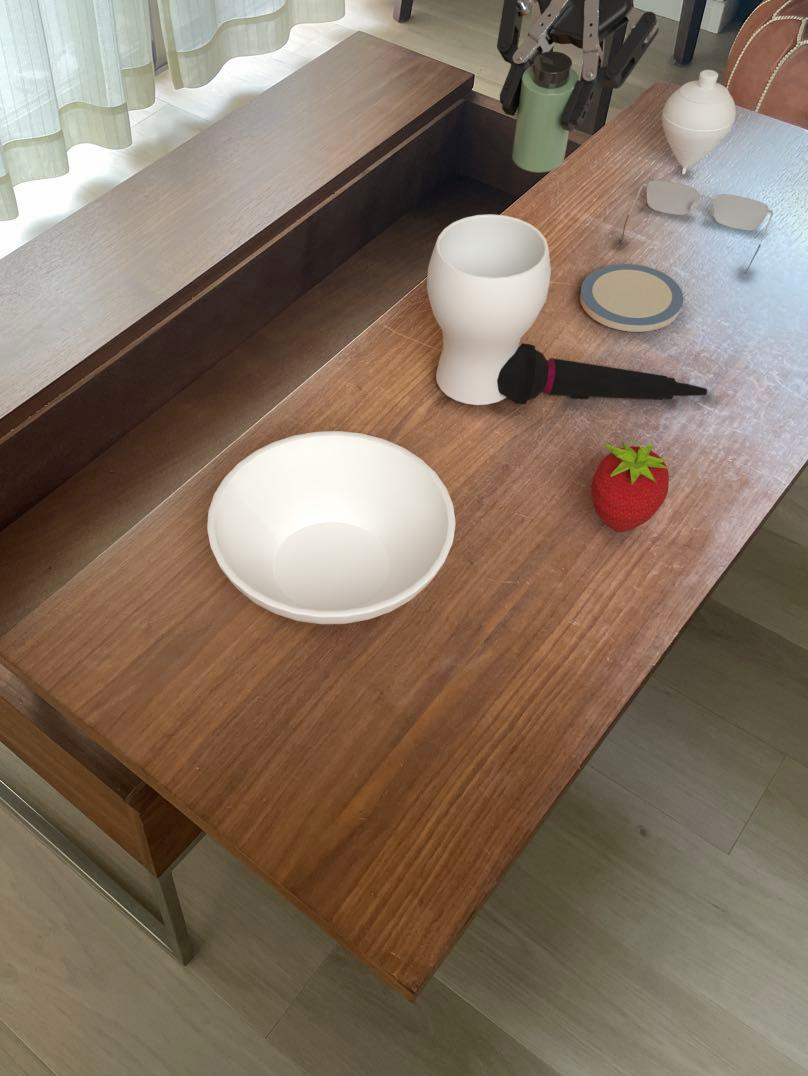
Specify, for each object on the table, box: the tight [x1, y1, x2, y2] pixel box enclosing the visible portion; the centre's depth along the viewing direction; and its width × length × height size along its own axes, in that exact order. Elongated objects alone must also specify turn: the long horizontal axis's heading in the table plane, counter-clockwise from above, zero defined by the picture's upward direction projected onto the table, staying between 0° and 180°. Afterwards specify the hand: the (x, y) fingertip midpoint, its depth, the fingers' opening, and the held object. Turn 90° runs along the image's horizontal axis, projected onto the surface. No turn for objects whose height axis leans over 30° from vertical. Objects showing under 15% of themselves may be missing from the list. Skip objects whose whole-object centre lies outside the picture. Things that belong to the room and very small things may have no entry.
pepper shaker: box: [511, 50, 580, 173], centre depth 97 cm, size 5×5×10 cm
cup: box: [426, 213, 552, 406], centre depth 100 cm, size 11×11×15 cm
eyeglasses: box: [620, 179, 774, 274], centre depth 117 cm, size 14×8×4 cm, turn 62°
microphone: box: [497, 342, 708, 405], centre depth 102 cm, size 6×6×20 cm
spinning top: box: [661, 69, 737, 175], centre depth 122 cm, size 8×8×12 cm
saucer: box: [579, 263, 684, 333], centre depth 111 cm, size 10×10×2 cm
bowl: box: [206, 430, 456, 625], centre depth 89 cm, size 20×20×7 cm
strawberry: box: [590, 438, 670, 533], centre depth 89 cm, size 6×8×10 cm
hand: (537, 119), depth 96 cm, fingers closed on pepper shaker, 5 cm apart
